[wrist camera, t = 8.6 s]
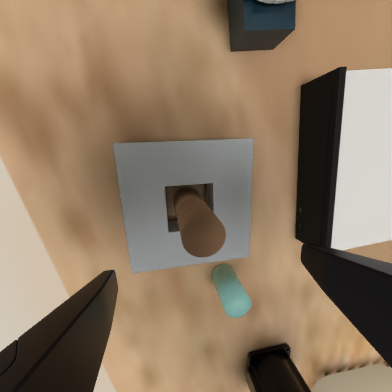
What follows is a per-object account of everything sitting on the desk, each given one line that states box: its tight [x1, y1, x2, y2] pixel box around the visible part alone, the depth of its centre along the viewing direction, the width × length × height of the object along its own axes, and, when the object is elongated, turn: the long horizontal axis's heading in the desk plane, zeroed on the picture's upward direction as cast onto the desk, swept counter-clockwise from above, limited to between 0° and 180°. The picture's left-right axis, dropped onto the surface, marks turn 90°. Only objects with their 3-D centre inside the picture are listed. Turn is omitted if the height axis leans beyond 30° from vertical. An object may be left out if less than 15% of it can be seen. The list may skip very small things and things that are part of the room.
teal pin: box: [212, 264, 251, 318], centre depth 21 cm, size 3×3×5 cm
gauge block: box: [112, 138, 253, 273], centre depth 19 cm, size 12×12×3 cm
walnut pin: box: [174, 187, 226, 258], centre depth 16 cm, size 3×3×9 cm
